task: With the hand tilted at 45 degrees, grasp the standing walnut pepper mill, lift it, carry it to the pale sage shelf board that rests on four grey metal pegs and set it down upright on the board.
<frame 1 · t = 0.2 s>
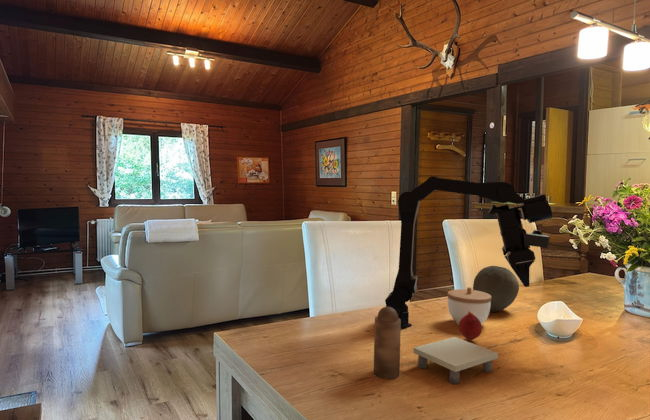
hand: (524, 283, 115), 15 cm above the table, tool pointing down, fingers open, 9 cm apart
shelf: (454, 368, 96), on the table
onion: (469, 341, 114), on the table
lidded bowl: (468, 324, 129), on the table
grey sphere: (494, 310, 144), on the table
mill: (386, 373, 92), on the table
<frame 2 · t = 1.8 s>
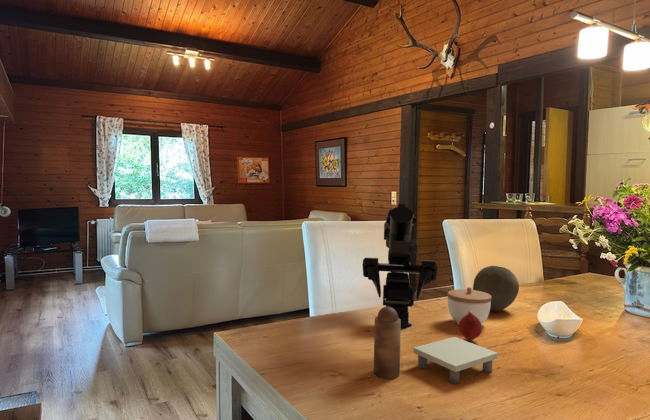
hand: (398, 297, 104), 14 cm above the table, tool tilted 45°, fingers open, 9 cm apart
nothing on the table moved.
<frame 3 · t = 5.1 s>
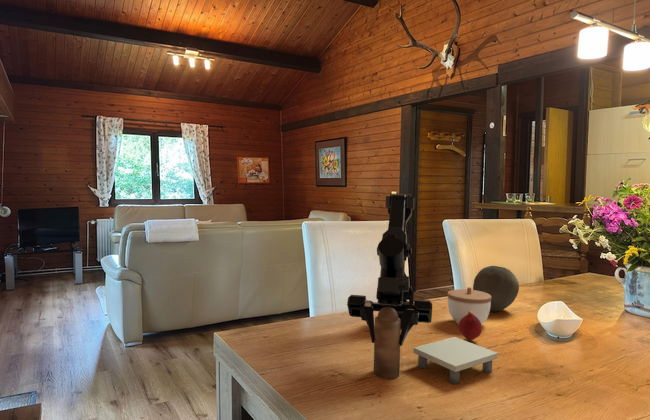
hand: (386, 343, 91), 7 cm above the table, tool tilted 45°, fingers closed on mill, 6 cm apart
mill: (386, 373, 92), on the table, touching gripper
everything else where it was.
when the fingers open (12 cm above the table, at t = 8.1 s): mill drops 1 cm, resting on shelf.
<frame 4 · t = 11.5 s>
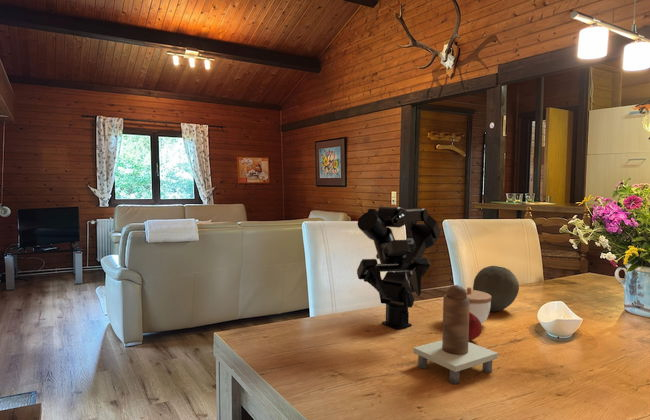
hand: (402, 296, 106), 14 cm above the table, tool tilted 45°, fingers open, 9 cm apart
mill: (455, 350, 95), point 4 cm above the table, touching shelf
everything else where it was.
at the end: mill inside the target area on the shelf (0.1 cm from its centre), point 4.2 cm above the shelf's base; mill tilted 1°; the gripper is holding nothing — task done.
